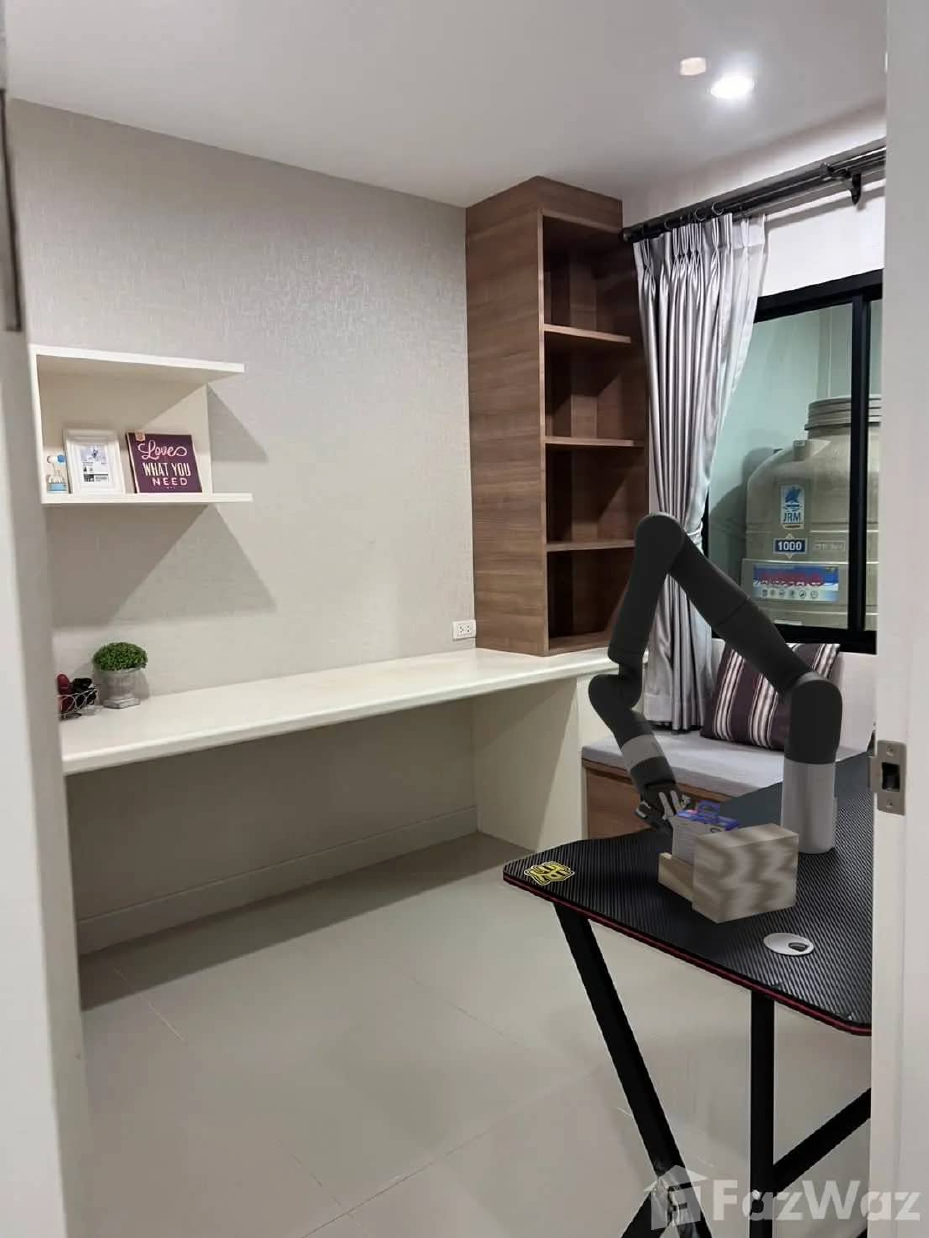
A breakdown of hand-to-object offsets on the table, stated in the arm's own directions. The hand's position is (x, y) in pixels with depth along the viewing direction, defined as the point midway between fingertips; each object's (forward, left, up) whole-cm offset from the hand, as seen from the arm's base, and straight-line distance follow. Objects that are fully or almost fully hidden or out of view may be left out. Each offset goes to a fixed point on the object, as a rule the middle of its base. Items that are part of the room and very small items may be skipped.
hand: (685, 850), depth 163 cm
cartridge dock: (0, +9, -4) cm, 10 cm away
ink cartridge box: (+1, +6, -4) cm, 7 cm away
